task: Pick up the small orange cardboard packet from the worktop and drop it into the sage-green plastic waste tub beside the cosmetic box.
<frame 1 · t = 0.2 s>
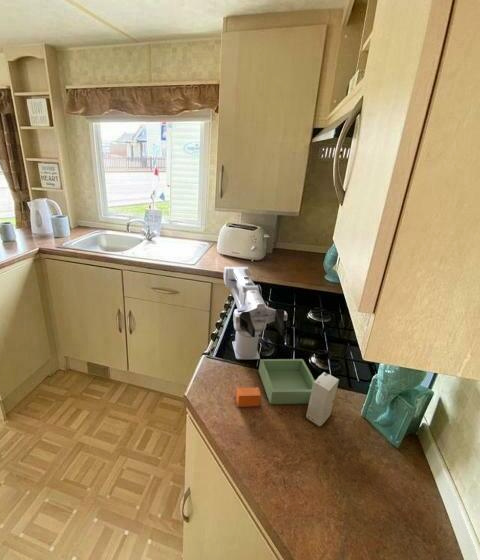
hand: (268, 333, 81), 21 cm above the worktop, tool horizontal, fingers open, 7 cm apart
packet: (247, 402, 87), on the worktop
cosmetic box: (317, 416, 84), on the worktop
waste tub: (286, 385, 94), on the worktop
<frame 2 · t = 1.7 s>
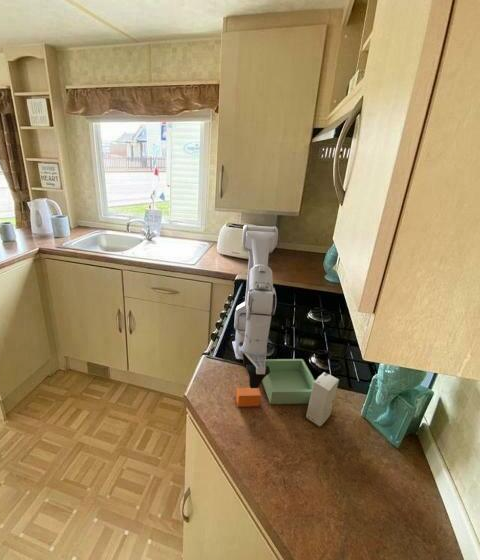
hand: (250, 376, 84), 9 cm above the worktop, tool pointing down, fingers open, 7 cm apart
nothing on the worktop moved.
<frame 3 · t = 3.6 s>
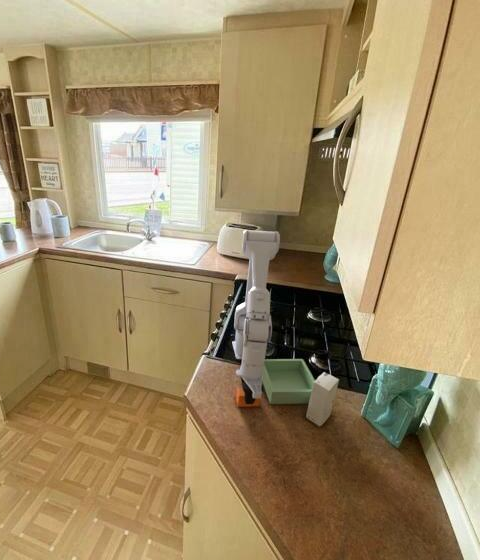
hand: (248, 397, 87), 2 cm above the worktop, tool pointing down, fingers closed on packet, 3 cm apart
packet: (247, 402, 87), on the worktop, touching gripper
everything else where it was.
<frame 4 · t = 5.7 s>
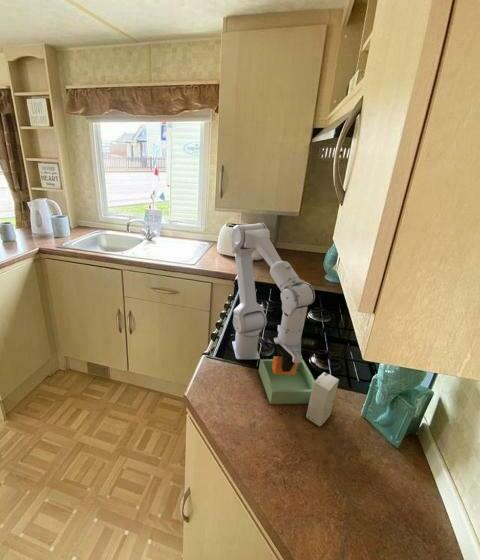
hand: (284, 366, 89), 8 cm above the worktop, tool pointing down, fingers closed on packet, 3 cm apart
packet: (283, 370, 90), point 7 cm above the worktop, touching gripper
everything else where it was.
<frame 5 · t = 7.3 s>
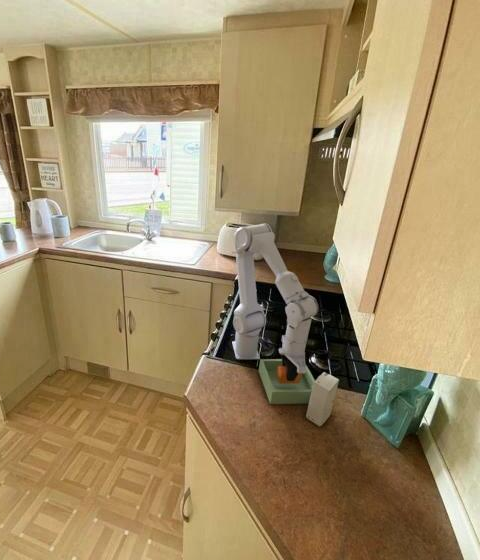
hand: (288, 375, 92), 4 cm above the worktop, tool pointing down, fingers closed on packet, 3 cm apart
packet: (287, 379, 92), point 2 cm above the worktop, touching gripper
everything else where it was.
when the fingers open (2 cm above the worktop, at t = 8.2 s): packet stays where it is, resting on waste tub.
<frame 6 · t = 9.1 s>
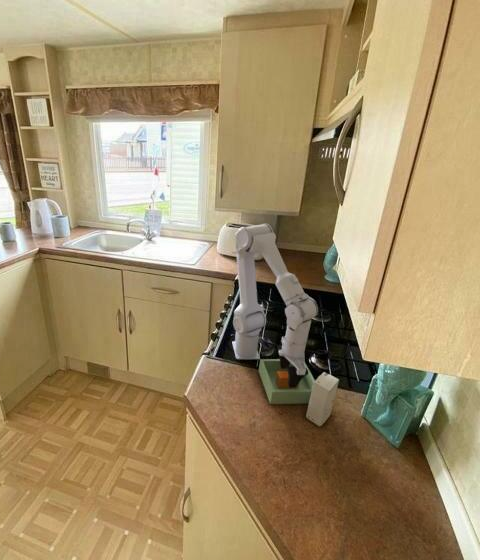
hand: (288, 376, 92), 3 cm above the worktop, tool pointing down, fingers open, 7 cm apart
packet: (286, 384, 93), resting on waste tub
everything else where it was.
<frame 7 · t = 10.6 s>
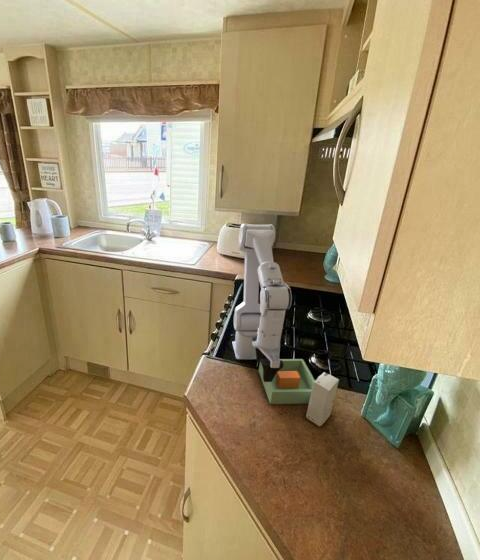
hand: (263, 370, 85), 9 cm above the worktop, tool pointing down, fingers open, 7 cm apart
nothing on the worktop moved.
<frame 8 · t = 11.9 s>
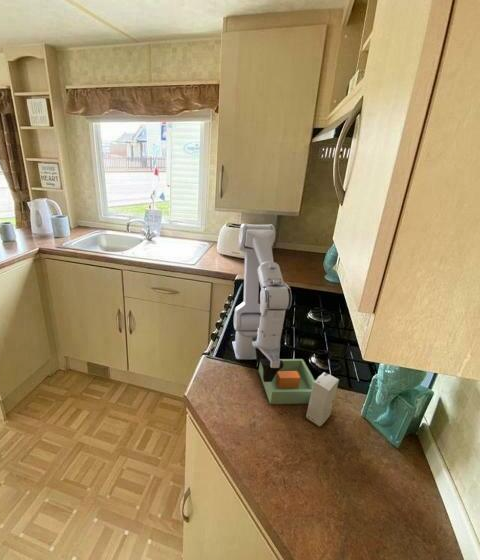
hand: (263, 370, 85), 9 cm above the worktop, tool pointing down, fingers open, 7 cm apart
nothing on the worktop moved.
at the end: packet inside the target area in the waste tub (0.1 cm from its centre), point 0.5 cm above the waste tub's base; the gripper is holding nothing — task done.
